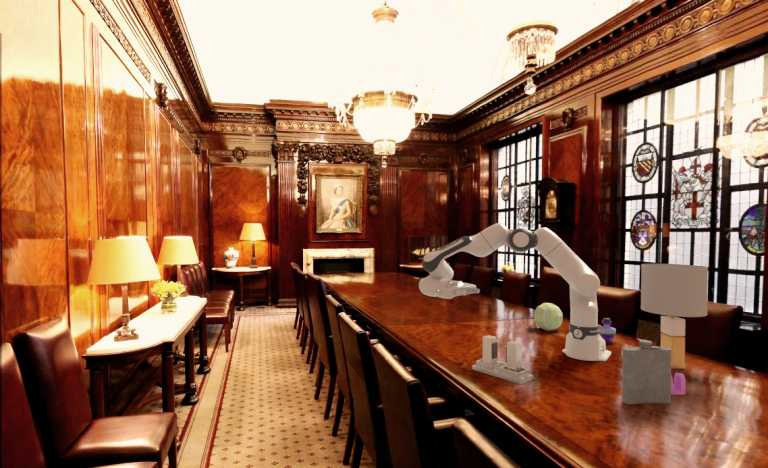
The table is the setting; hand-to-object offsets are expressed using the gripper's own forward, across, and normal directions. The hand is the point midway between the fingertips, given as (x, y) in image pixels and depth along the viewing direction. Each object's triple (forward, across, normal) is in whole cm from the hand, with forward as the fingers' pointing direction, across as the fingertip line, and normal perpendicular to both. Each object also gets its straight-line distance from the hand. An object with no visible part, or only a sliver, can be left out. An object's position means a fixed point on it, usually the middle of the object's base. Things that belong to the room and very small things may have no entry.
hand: (472, 292), depth 184 cm
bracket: (+66, +24, +30) cm, 77 cm away
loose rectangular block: (+14, -8, +28) cm, 32 cm away
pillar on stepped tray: (+20, -8, +29) cm, 36 cm away
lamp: (+61, +55, +30) cm, 87 cm away
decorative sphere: (-4, +76, +30) cm, 82 cm away
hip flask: (+66, +5, +30) cm, 72 cm away
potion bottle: (+28, +74, +30) cm, 85 cm away
